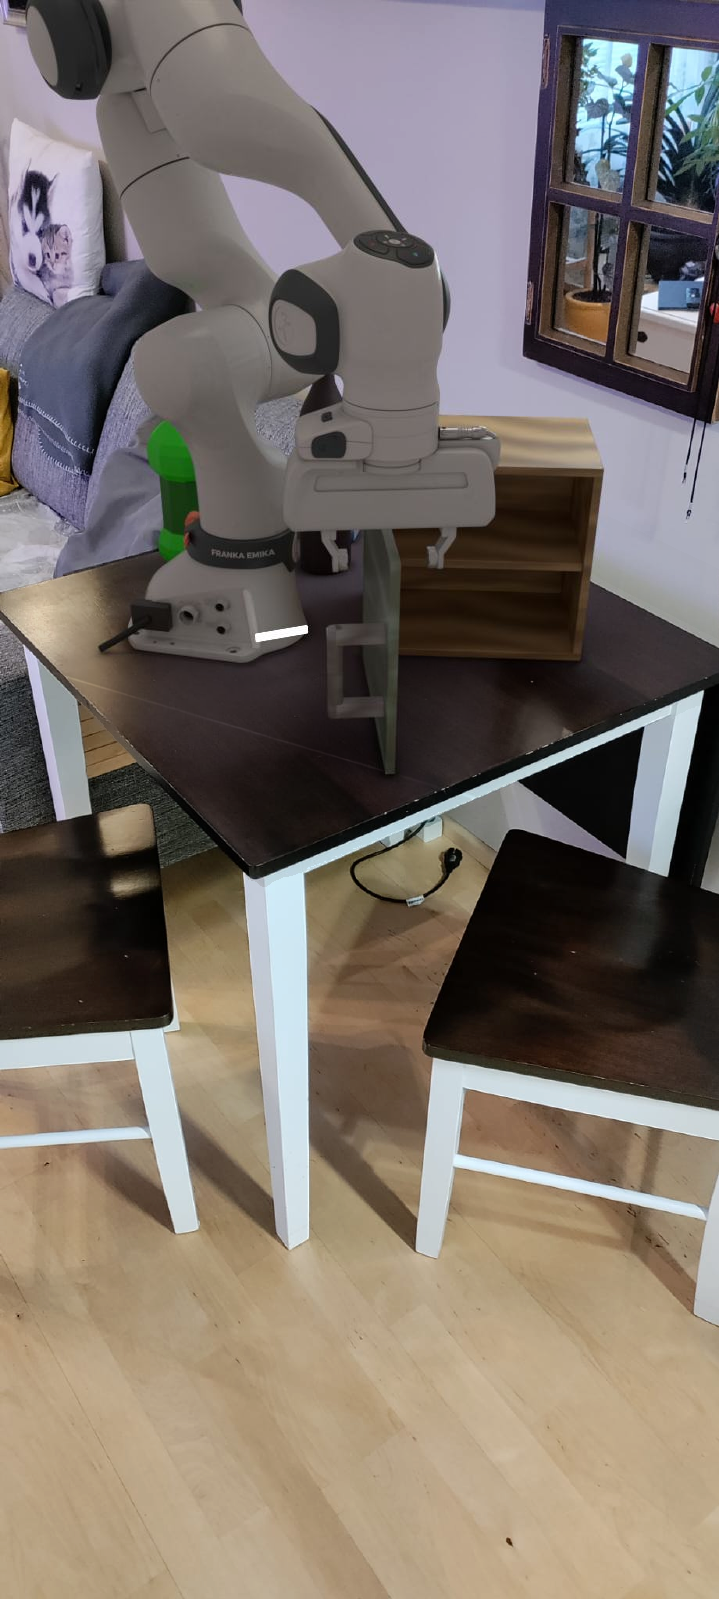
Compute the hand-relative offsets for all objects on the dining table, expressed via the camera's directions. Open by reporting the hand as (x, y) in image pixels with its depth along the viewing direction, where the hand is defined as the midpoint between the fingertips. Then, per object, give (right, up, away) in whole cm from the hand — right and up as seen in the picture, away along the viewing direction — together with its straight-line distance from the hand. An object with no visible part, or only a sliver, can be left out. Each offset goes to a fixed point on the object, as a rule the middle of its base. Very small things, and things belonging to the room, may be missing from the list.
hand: (387, 568), depth 119 cm
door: (-4, -13, +18) cm, 22 cm away
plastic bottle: (-26, +9, +50) cm, 57 cm away
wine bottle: (-7, +10, +51) cm, 53 cm away
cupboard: (+12, 0, +36) cm, 38 cm away
